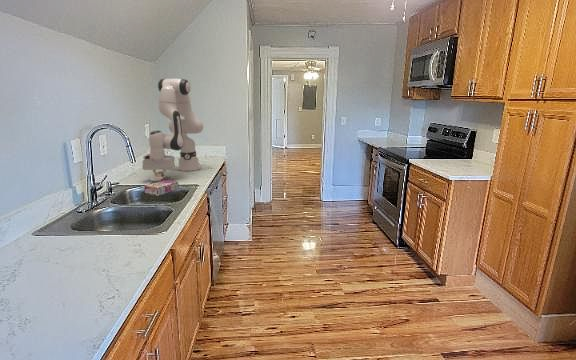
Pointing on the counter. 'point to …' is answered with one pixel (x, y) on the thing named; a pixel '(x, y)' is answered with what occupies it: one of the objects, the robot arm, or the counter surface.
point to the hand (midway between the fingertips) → (159, 175)
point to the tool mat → (161, 180)
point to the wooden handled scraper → (158, 176)
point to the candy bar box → (161, 187)
